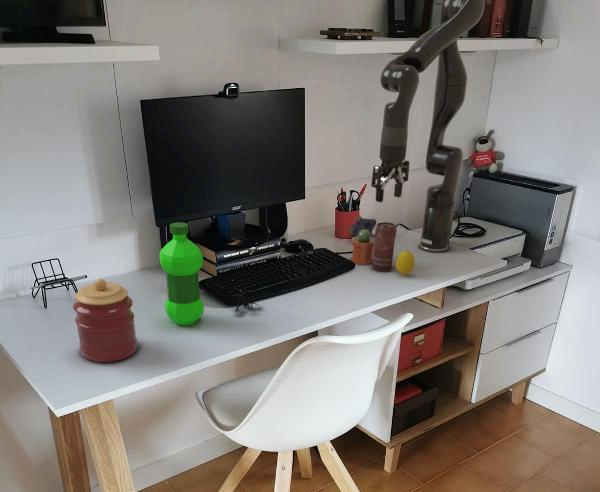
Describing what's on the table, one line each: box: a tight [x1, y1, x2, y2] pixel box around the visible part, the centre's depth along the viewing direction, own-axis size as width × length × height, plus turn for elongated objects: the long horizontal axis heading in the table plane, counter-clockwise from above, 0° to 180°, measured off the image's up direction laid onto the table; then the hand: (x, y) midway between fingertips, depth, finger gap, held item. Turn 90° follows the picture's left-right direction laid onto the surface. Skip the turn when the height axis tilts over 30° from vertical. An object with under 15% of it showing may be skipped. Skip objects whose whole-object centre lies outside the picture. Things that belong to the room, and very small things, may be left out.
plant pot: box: [351, 229, 375, 265], centre depth 209 cm, size 8×8×10 cm
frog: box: [348, 217, 378, 238], centre depth 229 cm, size 10×12×8 cm
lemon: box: [395, 249, 415, 276], centre depth 199 cm, size 6×6×8 cm
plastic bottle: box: [158, 221, 205, 326], centre depth 162 cm, size 10×10×25 cm
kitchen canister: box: [72, 278, 138, 363], centre depth 149 cm, size 13×13×18 cm
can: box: [371, 221, 398, 273], centre depth 202 cm, size 6×6×14 cm
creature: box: [227, 287, 260, 317], centre depth 174 cm, size 8×5×8 cm
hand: (388, 199), depth 196 cm, fingers open, 8 cm apart
